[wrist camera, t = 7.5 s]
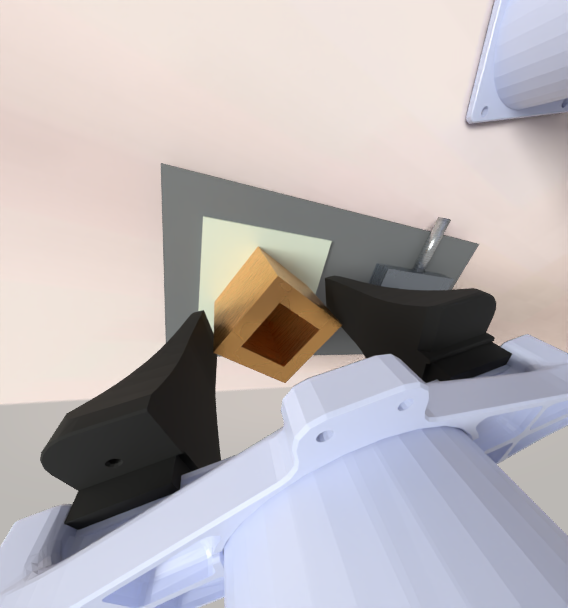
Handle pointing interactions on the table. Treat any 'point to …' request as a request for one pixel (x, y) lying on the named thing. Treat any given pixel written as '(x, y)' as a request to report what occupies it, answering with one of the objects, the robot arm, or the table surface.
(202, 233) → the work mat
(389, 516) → the robot arm
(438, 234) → the vise
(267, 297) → the collar
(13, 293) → the table surface
